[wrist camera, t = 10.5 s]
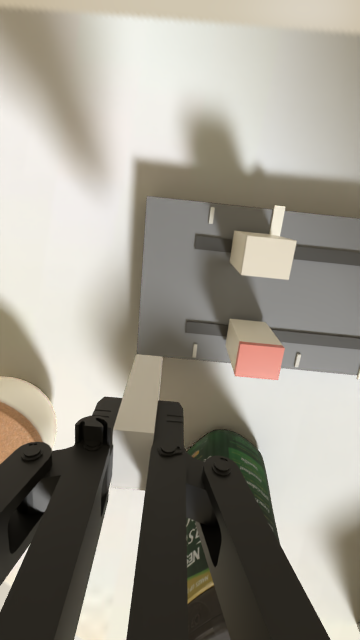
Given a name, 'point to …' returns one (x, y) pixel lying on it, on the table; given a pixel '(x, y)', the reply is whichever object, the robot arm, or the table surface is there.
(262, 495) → the coffee jar
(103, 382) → the table surface
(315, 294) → the console
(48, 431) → the lidded jar
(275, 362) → the block
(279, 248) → the fader front
